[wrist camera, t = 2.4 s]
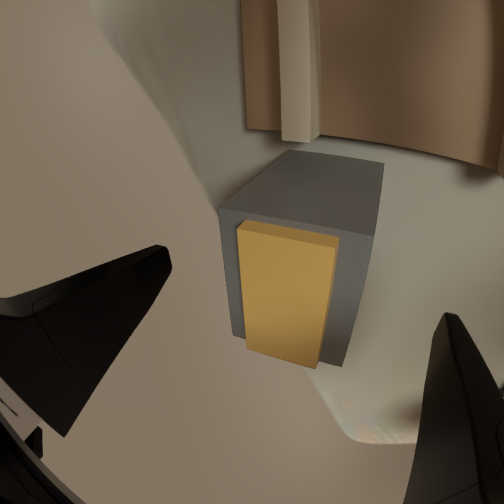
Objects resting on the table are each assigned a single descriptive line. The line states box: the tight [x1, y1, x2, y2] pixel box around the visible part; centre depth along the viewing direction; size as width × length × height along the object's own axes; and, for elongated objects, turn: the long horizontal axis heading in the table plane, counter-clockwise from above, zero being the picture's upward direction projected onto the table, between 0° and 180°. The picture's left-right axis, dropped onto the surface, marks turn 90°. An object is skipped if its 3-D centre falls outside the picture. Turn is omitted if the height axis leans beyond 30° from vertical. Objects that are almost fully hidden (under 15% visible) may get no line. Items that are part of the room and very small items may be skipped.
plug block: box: [218, 150, 384, 369], centre depth 11 cm, size 4×5×6 cm
